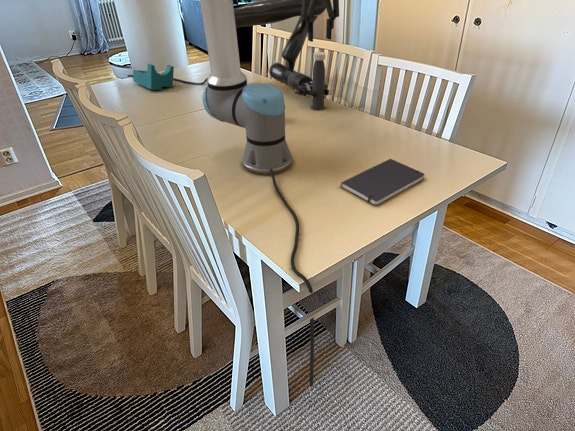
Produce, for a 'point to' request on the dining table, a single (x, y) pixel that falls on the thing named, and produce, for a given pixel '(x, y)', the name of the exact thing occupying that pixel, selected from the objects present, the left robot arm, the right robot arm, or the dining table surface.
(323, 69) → the bottle
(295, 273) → the right robot arm
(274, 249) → the dining table surface
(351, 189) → the notebook
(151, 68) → the teal notched cradle block
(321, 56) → the cap
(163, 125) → the dining table surface
